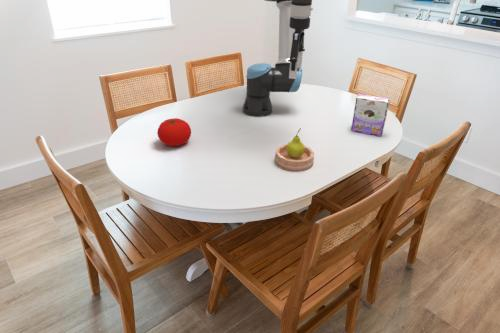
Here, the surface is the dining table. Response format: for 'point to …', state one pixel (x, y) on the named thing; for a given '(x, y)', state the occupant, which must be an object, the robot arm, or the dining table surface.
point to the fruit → (295, 147)
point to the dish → (294, 159)
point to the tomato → (174, 132)
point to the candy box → (370, 114)
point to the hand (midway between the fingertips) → (295, 72)
